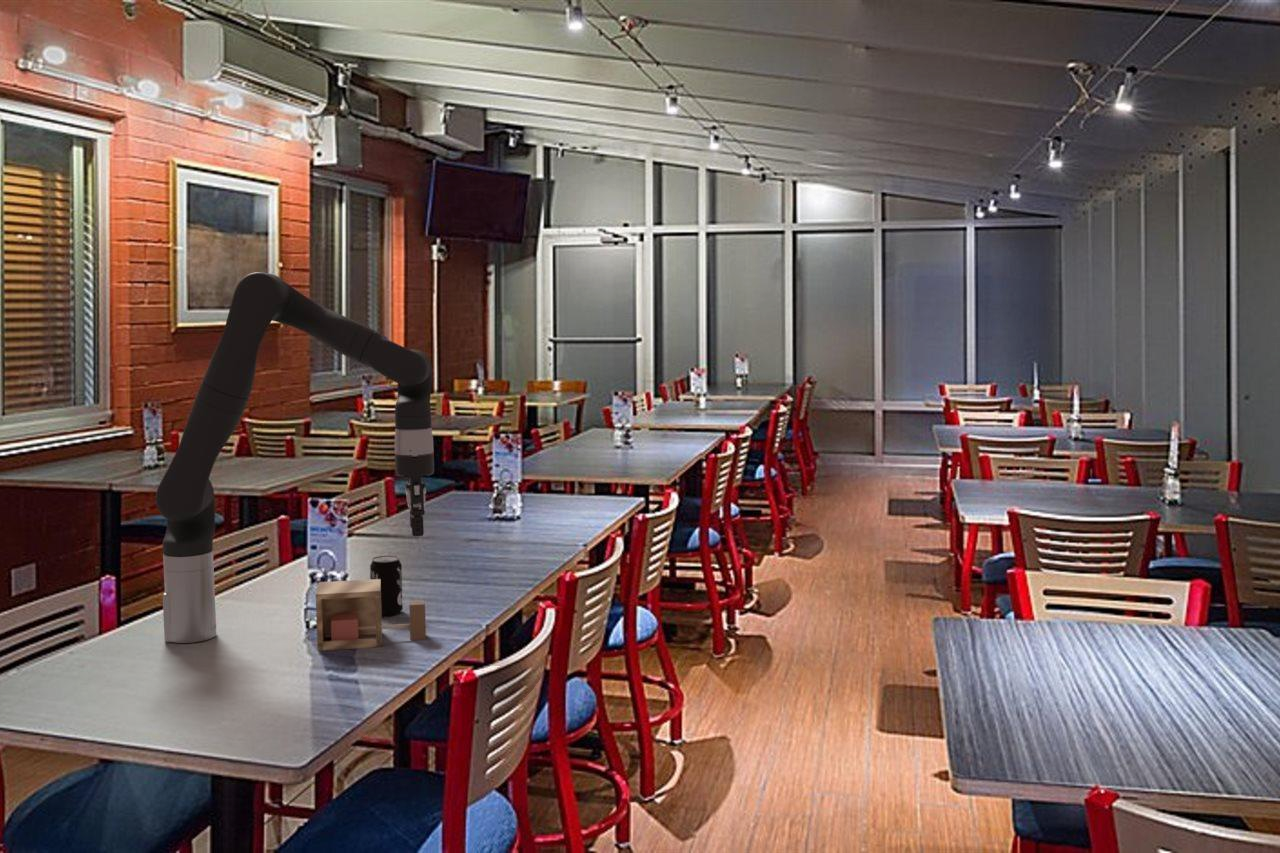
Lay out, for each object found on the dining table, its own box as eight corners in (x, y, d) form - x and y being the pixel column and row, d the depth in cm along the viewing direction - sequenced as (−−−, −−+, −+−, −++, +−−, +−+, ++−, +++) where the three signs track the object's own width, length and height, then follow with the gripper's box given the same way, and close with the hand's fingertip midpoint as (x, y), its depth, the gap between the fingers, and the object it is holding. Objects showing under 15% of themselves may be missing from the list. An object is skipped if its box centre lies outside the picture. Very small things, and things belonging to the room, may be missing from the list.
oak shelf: (317, 650, 222) (315, 594, 221) (320, 636, 232) (318, 582, 231) (381, 646, 225) (380, 590, 224) (382, 632, 235) (380, 579, 233)
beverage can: (395, 618, 246) (393, 562, 244) (366, 616, 247) (364, 560, 246) (407, 610, 252) (406, 555, 251) (379, 608, 253) (377, 554, 252)
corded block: (331, 646, 225) (330, 611, 225) (332, 639, 230) (331, 604, 229) (426, 640, 229) (425, 605, 228) (425, 633, 234) (424, 599, 233)
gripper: (393, 447, 236) (396, 526, 238) (395, 456, 222) (398, 539, 224) (431, 446, 238) (433, 524, 240) (435, 454, 224) (438, 537, 226)
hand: (416, 531), depth 232 cm, fingers open, 8 cm apart
